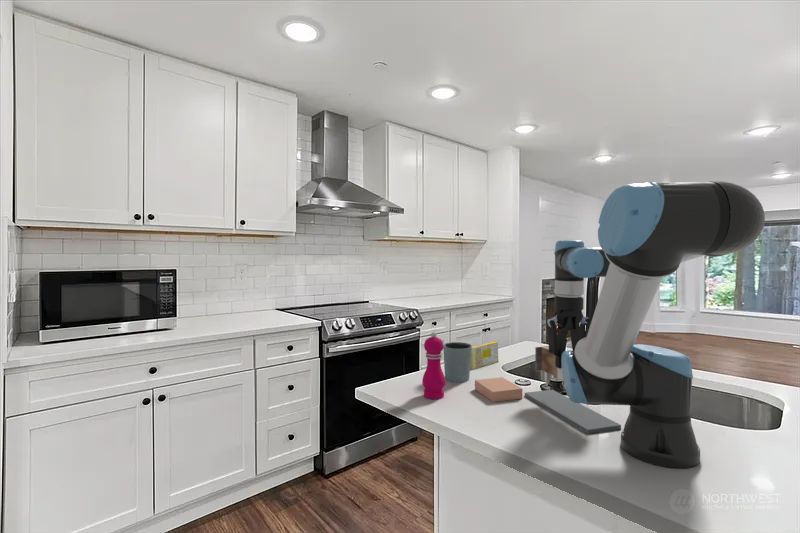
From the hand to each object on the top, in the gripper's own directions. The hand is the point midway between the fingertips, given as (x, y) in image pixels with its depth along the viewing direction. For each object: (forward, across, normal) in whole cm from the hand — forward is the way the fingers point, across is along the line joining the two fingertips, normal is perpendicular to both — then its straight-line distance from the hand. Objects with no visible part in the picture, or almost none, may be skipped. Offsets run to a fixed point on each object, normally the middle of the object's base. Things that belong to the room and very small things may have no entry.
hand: (567, 378), depth 118 cm
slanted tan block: (+8, +12, -12) cm, 18 cm away
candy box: (+10, +1, -49) cm, 50 cm away
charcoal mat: (+9, 0, 0) cm, 9 cm away
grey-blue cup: (+10, +18, -36) cm, 41 cm away
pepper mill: (+9, +32, -22) cm, 40 cm away
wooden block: (0, 0, 0) cm, 0 cm away
